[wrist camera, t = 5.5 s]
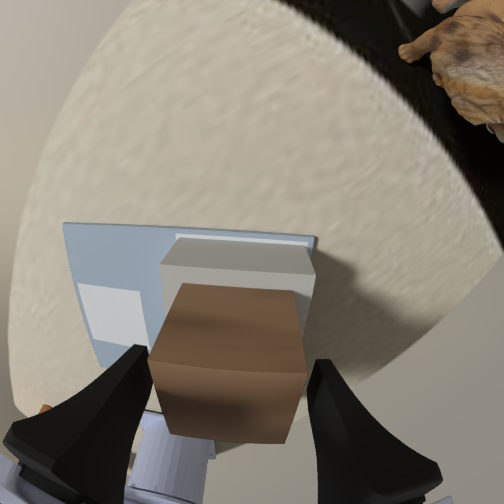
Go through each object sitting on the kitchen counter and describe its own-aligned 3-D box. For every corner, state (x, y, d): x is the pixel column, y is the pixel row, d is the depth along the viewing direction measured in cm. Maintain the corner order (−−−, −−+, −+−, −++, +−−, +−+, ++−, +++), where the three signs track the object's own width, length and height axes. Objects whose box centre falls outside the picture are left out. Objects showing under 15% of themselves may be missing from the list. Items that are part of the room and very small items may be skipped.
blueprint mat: (284, 387, 20) (284, 390, 20) (101, 363, 20) (100, 366, 20) (313, 235, 15) (314, 237, 15) (64, 222, 15) (62, 223, 15)
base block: (288, 341, 18) (293, 379, 15) (185, 334, 18) (173, 370, 15) (304, 245, 15) (315, 275, 12) (179, 237, 15) (159, 264, 12)
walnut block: (279, 366, 14) (284, 443, 10) (189, 359, 14) (169, 434, 10) (292, 290, 12) (308, 373, 8) (182, 282, 12) (147, 359, 8)
